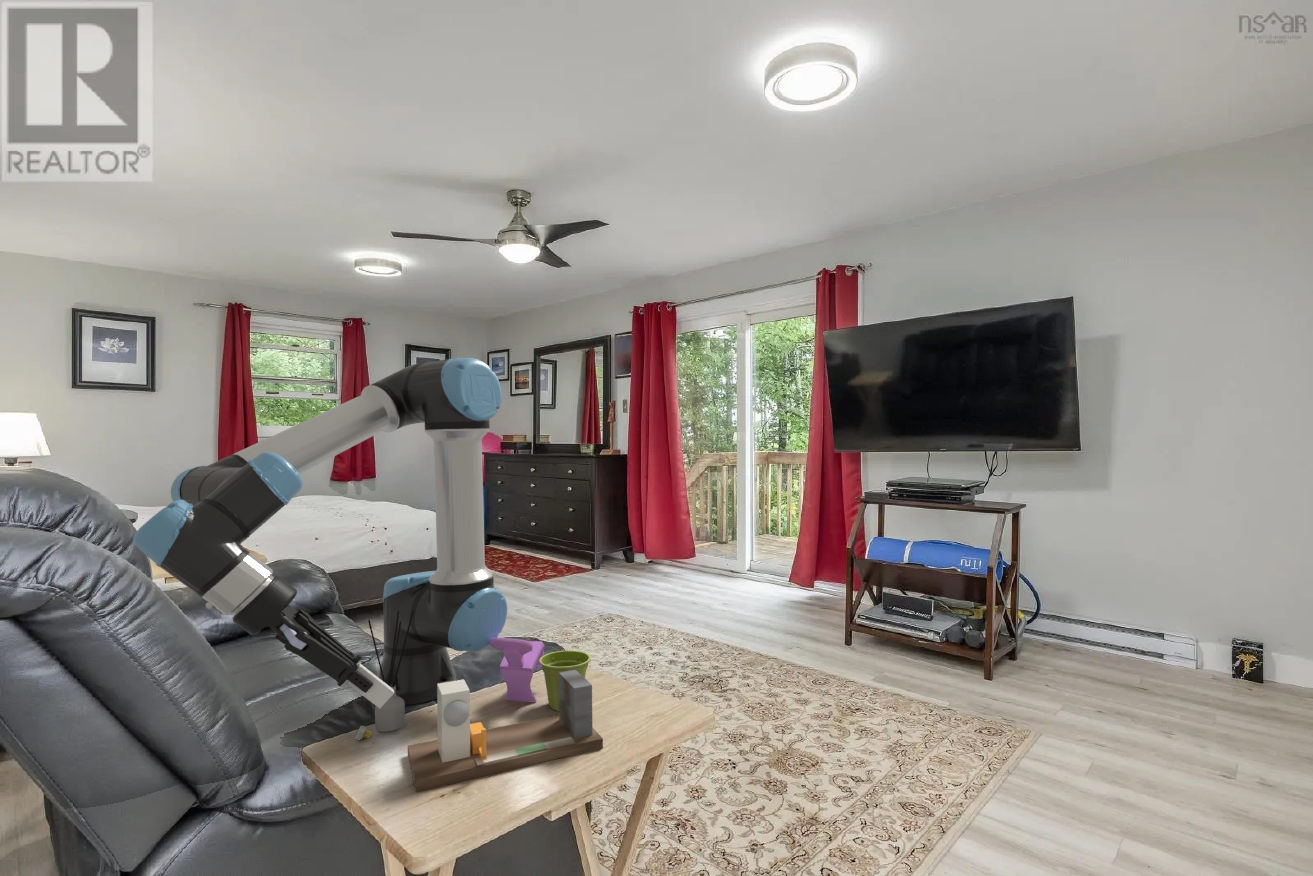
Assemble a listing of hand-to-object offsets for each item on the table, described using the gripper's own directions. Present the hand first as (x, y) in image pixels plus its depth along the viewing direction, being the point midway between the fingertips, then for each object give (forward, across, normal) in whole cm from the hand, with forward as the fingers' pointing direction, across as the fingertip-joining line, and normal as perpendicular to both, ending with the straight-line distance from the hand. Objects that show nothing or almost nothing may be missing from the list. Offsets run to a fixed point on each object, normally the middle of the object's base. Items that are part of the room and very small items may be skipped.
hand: (386, 699), depth 93 cm
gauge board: (+21, -1, +4) cm, 21 cm away
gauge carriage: (+14, -1, 0) cm, 14 cm away
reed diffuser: (+9, -17, -7) cm, 20 cm away
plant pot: (+30, -14, +14) cm, 36 cm away
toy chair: (+26, -22, +13) cm, 36 cm away
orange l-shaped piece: (+16, +1, +2) cm, 16 cm away
